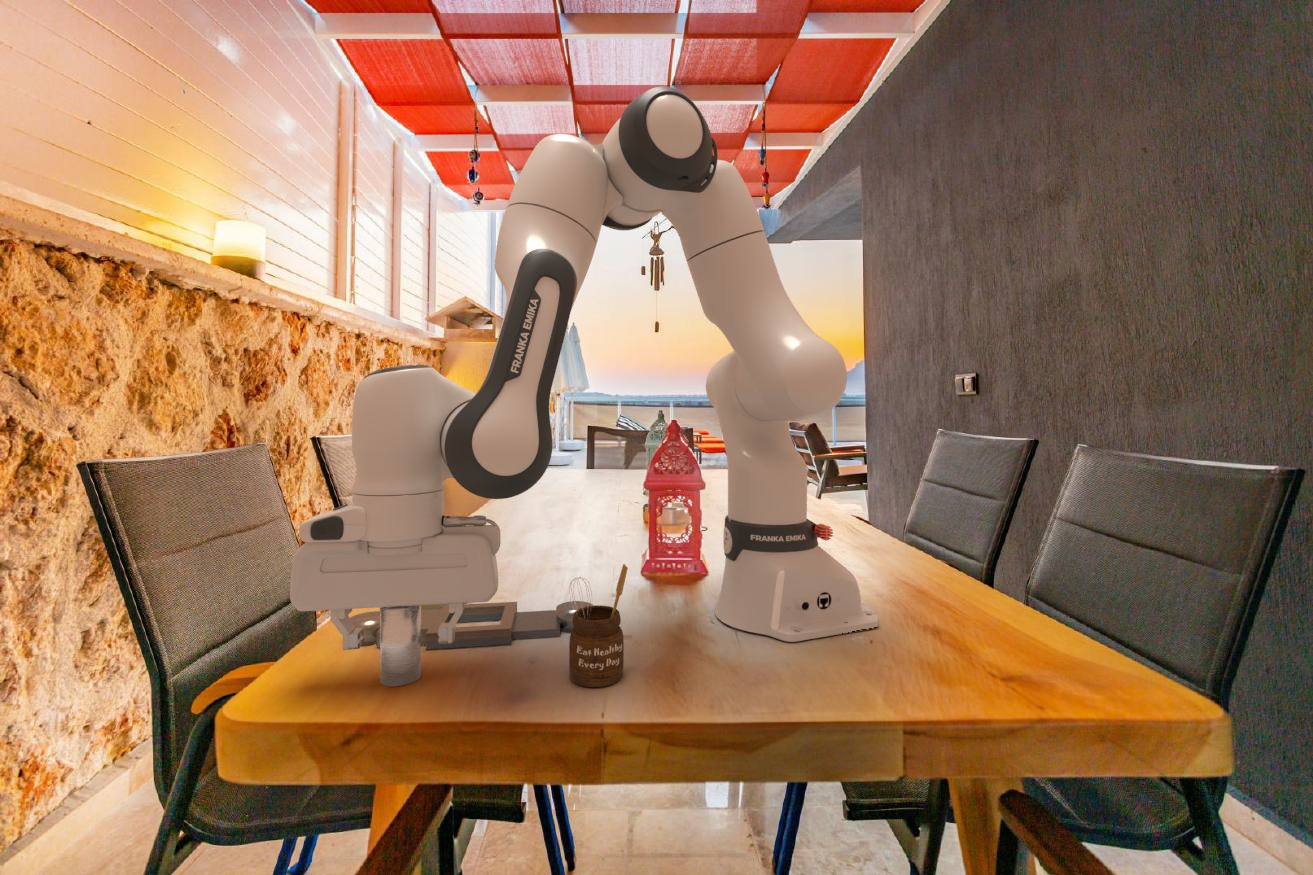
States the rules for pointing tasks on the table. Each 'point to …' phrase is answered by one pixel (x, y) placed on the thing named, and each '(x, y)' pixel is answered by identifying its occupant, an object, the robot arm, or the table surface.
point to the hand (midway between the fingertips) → (400, 644)
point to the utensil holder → (597, 642)
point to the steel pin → (400, 645)
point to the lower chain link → (520, 626)
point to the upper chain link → (436, 617)
